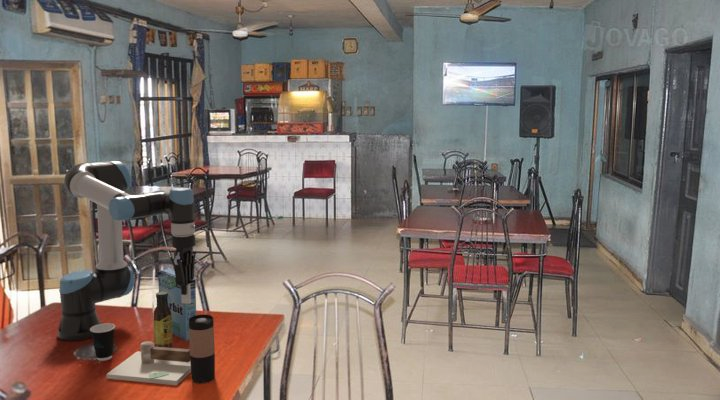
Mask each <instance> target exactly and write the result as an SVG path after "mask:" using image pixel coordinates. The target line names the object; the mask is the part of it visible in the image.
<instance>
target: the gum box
mask: <svg viewBox="0 0 720 400" xmlns="http://www.w3.org/2000/svg"><path fill="white" fill-rule="evenodd" d="M157 277H158V280H157V281H158V292H167V293H168V297H167V299H168V306H169V309H170V311H171V313H172V335H174V336H176V337H178V338H180V339H182V340H183V341H185V342H189V319H190V318H191V317H193V316H196V315H197V296H196V295H197V294H196V293H197V290H196V286H197V285H196V281H197V280H196V278H194V279H193V280H191V281H193V283H190V289H191V303H189V304H185V303H182V301H181V285H177V282H176V276H175V271H174V270H173V269H170V268H168V269H167V268H166V269H162V270H157Z"/></svg>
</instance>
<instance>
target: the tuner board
mask: <svg viewBox="0 0 720 400" xmlns="http://www.w3.org/2000/svg"><path fill="white" fill-rule="evenodd" d="M189 374H191V363H190V361H189V362H178V361H167V360H156V359H154V361H153V362H151V363H142V362H141V350H140V351H136V352H134V353H133V354H132V355H130V356H129V357H128V358H126V359H125V360H124V361H122V362H120V363H119V364H118V365H116V366H115V367H114V368H113V369H112V370H110V371H109V372H107V373H106V379H108V380H116V381H128V382H138V383H139V382H140V383H150V384H157V385H158V384H159V385H168V386H169V385H171V386H178V385H179V384H180V383H181V382H182V381H183V380H184V379H185V378H186V377H187V376H189Z"/></svg>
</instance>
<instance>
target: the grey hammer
mask: <svg viewBox="0 0 720 400" xmlns="http://www.w3.org/2000/svg"><path fill="white" fill-rule="evenodd" d="M140 352H141V362H142V363H151V362H153V361H154V359H156V360H167V361H178V362H189V361H190V348H189V349H188V348H180V347H179V348H178V347H169V348H167V347H155V345H154V341H149V340H148V341H143V342H141V343H140Z"/></svg>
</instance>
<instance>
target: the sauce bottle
mask: <svg viewBox="0 0 720 400" xmlns="http://www.w3.org/2000/svg"><path fill="white" fill-rule="evenodd" d="M155 297H156V307H155V308H154V310H153V340H154V341H153V344H154V346H155V347H167V348H172V345H173V341H174V340H173V334H172V313H171V311H170V309H169V306H168V299H167V297H168V293H167V292H159V291H158V292H156V293H155Z"/></svg>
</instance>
